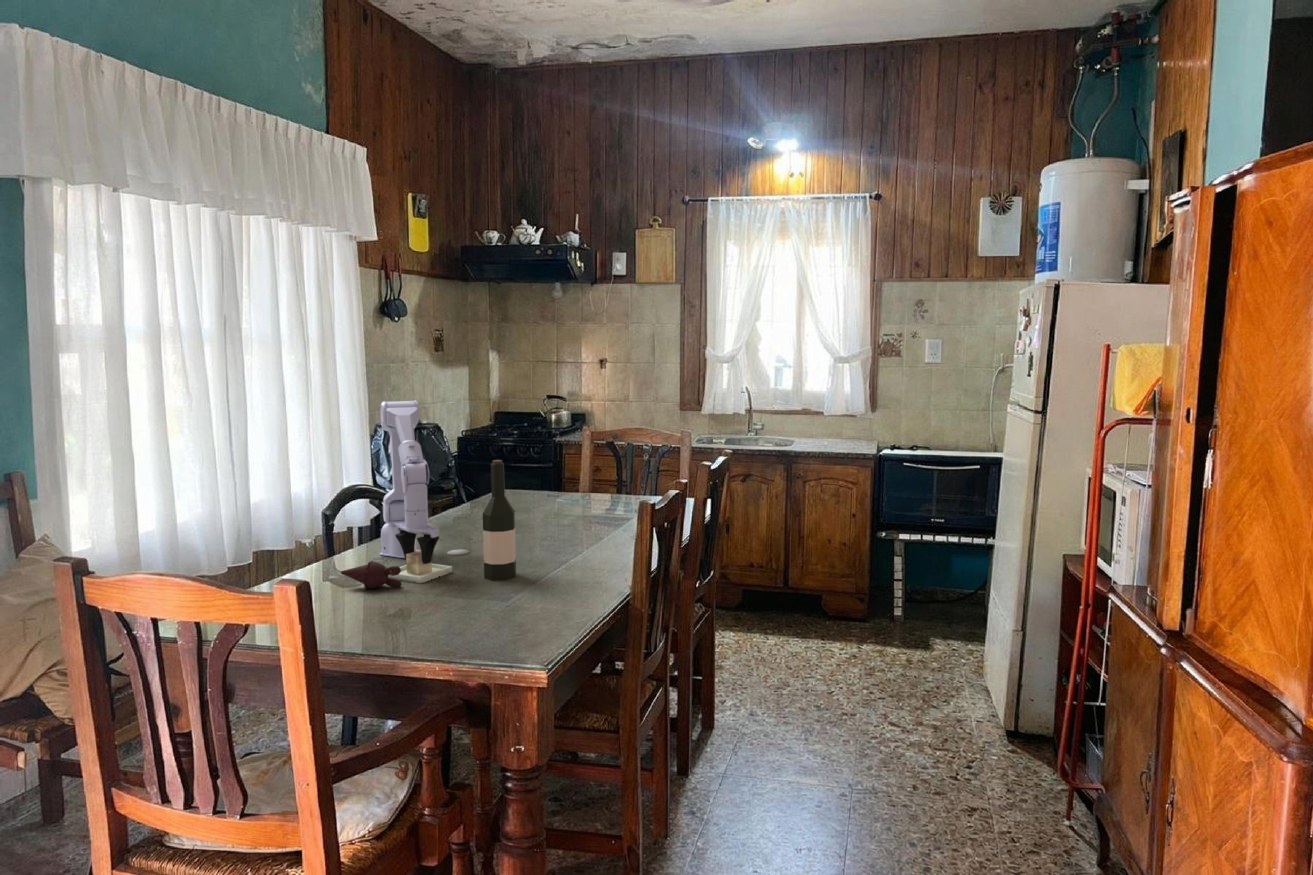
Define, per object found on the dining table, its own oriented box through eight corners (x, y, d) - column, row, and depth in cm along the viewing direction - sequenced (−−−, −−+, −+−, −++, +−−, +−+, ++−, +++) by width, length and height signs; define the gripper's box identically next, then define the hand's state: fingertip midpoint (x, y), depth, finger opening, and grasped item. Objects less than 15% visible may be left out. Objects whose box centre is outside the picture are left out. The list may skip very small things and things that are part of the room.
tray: (384, 577, 220) (384, 572, 220) (416, 566, 231) (416, 561, 230) (420, 583, 215) (420, 577, 214) (452, 571, 225) (452, 566, 225)
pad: (442, 554, 244) (442, 553, 244) (456, 549, 250) (456, 548, 250) (459, 556, 242) (459, 555, 242) (473, 551, 247) (473, 550, 247)
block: (406, 572, 222) (406, 553, 222) (420, 569, 226) (420, 550, 225) (418, 575, 220) (417, 556, 219) (432, 571, 223) (431, 552, 223)
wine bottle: (522, 573, 223) (519, 459, 220) (506, 581, 216) (503, 463, 212) (494, 570, 226) (491, 457, 223) (477, 579, 218) (474, 462, 215)
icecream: (334, 567, 206) (395, 572, 206) (346, 552, 213) (405, 557, 213) (335, 592, 209) (396, 597, 208) (347, 576, 216) (406, 582, 215)
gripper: (447, 509, 220) (449, 561, 221) (410, 504, 228) (412, 554, 230) (425, 514, 214) (427, 567, 216) (388, 508, 222) (390, 559, 224)
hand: (418, 561), depth 222 cm, fingers open, 6 cm apart
